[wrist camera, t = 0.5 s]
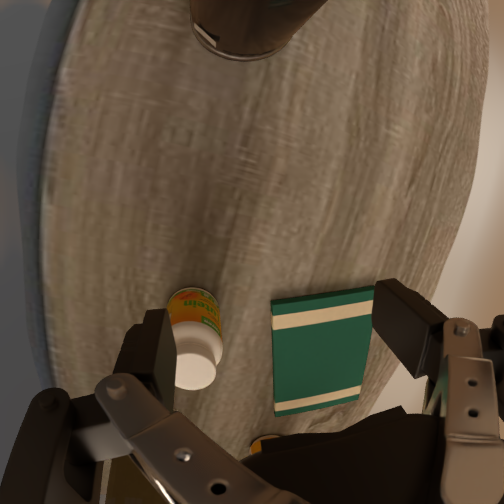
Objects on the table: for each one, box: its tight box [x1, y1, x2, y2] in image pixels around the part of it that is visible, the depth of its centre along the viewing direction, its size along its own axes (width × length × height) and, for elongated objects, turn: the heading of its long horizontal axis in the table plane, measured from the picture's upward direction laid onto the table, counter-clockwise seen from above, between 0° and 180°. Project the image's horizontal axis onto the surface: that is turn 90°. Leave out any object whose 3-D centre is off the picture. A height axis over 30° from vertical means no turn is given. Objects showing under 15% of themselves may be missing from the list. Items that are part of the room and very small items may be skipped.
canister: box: [105, 455, 167, 504], centre depth 30 cm, size 11×10×20 cm
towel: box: [271, 285, 375, 417], centre depth 36 cm, size 18×12×1 cm, turn 3°
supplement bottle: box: [167, 287, 223, 390], centre depth 27 cm, size 5×5×10 cm
